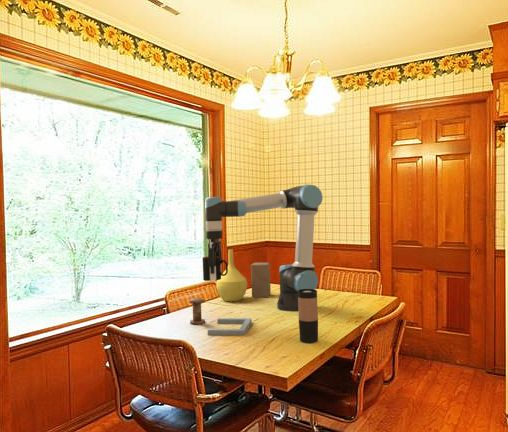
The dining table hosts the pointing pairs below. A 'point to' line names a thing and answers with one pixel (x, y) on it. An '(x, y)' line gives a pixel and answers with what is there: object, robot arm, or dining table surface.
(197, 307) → the bobbin post
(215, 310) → the dining table surface
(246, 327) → the notch board
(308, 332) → the travel mug
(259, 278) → the wooden block
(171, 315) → the dining table surface
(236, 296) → the vase
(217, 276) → the mug
